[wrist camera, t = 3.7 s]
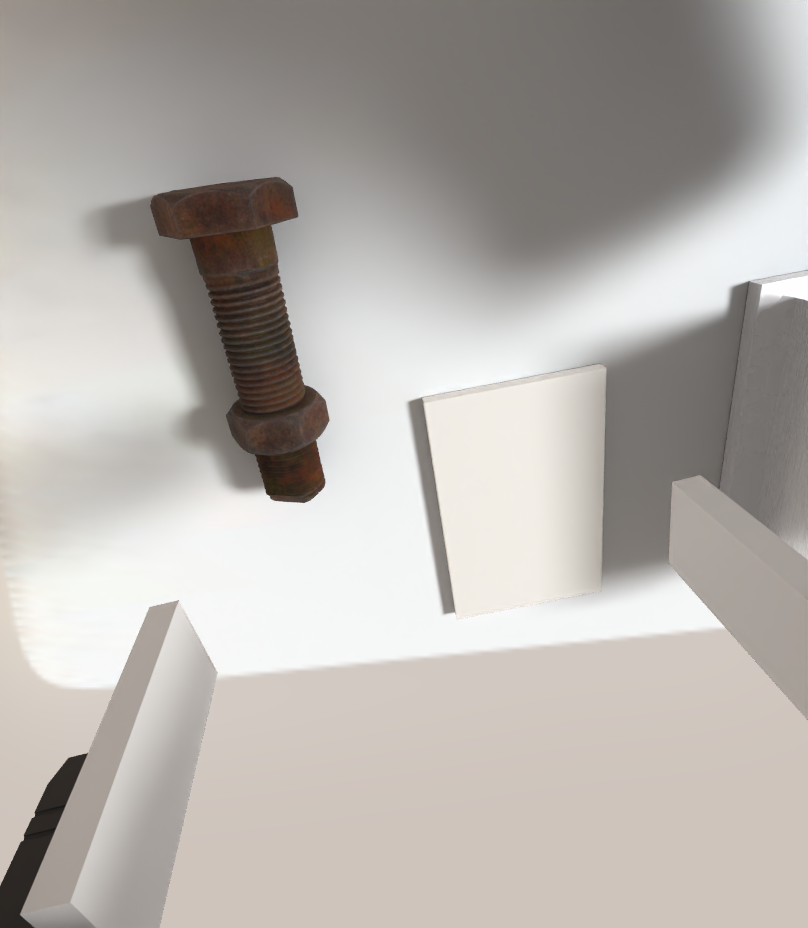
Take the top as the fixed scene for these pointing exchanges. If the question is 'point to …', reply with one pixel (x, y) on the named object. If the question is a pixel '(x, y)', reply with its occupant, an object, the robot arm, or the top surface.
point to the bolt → (253, 324)
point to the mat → (521, 488)
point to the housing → (772, 410)
